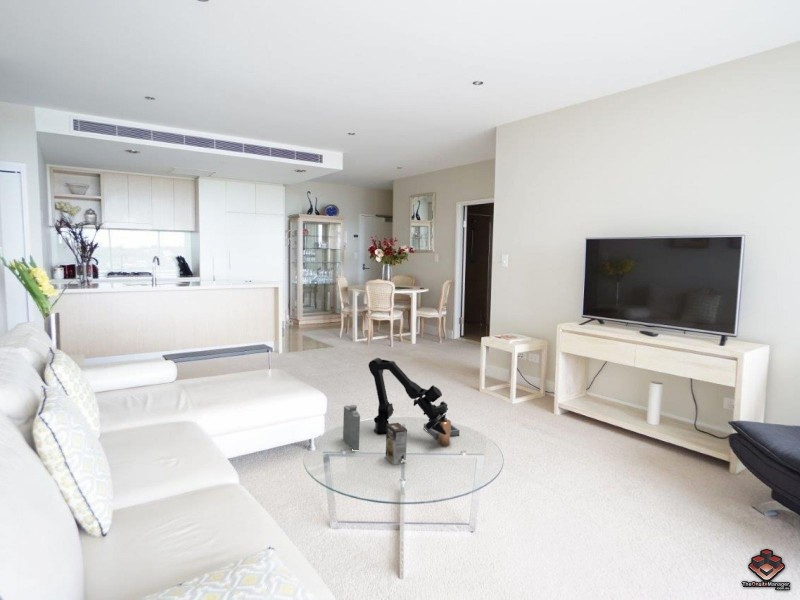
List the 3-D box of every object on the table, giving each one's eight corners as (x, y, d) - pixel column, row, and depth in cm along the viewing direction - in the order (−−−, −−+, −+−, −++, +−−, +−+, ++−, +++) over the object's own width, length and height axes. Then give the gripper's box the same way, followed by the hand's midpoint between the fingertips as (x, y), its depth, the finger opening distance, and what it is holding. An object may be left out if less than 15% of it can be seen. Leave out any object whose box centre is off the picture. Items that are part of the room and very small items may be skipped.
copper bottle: (441, 447, 231) (443, 421, 230) (436, 442, 236) (437, 417, 235) (451, 445, 234) (453, 419, 232) (446, 441, 239) (447, 415, 237)
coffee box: (384, 457, 218) (386, 424, 216) (397, 454, 221) (398, 421, 219) (393, 465, 210) (395, 431, 208) (406, 462, 213) (407, 429, 211)
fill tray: (435, 439, 240) (436, 433, 240) (423, 429, 253) (423, 423, 253) (459, 435, 246) (459, 430, 246) (445, 425, 259) (446, 420, 259)
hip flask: (342, 439, 236) (343, 401, 234) (349, 438, 238) (350, 400, 235) (353, 452, 222) (354, 411, 220) (361, 450, 224) (362, 410, 221)
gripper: (433, 403, 225) (454, 429, 222) (443, 392, 242) (463, 416, 240) (417, 416, 229) (437, 442, 226) (428, 405, 246) (447, 428, 243)
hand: (447, 432), depth 234 cm, fingers closed on copper bottle, 6 cm apart
